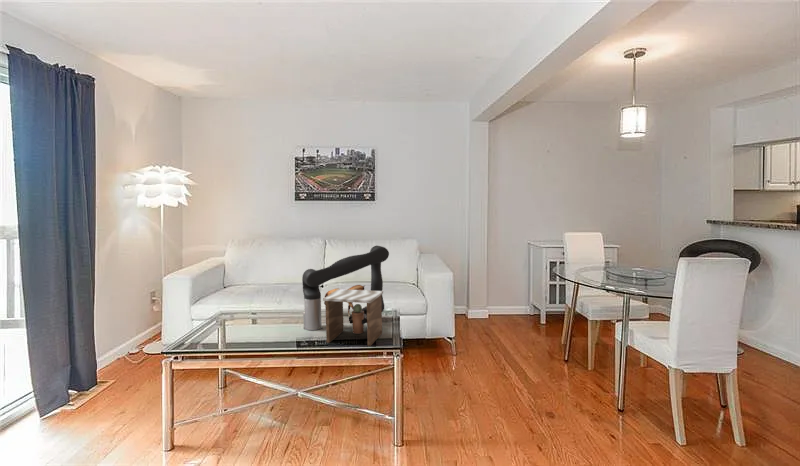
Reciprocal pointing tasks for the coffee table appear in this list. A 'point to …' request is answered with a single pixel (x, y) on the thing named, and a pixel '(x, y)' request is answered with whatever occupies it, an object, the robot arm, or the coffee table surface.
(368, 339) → the side table
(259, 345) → the coffee table surface
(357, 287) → the horse figurine
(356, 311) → the pot
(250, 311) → the coffee table surface
